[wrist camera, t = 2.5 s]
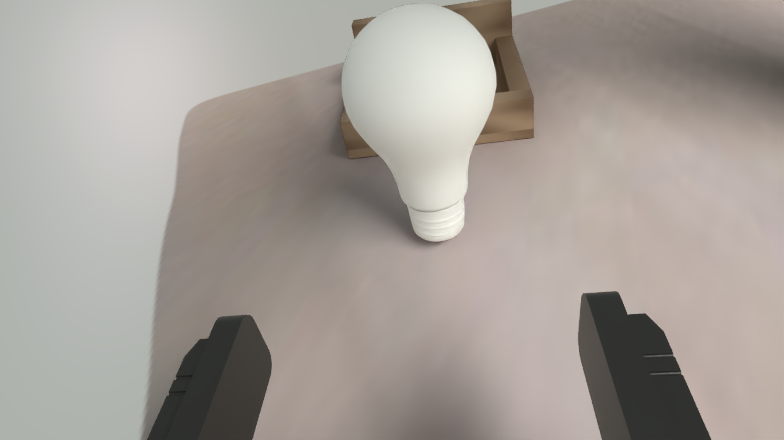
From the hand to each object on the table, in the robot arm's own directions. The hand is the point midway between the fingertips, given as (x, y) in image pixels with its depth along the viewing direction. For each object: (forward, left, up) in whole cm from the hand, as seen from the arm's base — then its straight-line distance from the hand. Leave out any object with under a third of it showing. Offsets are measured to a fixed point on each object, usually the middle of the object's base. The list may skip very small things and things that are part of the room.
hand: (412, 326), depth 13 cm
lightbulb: (0, -11, -7) cm, 13 cm away
